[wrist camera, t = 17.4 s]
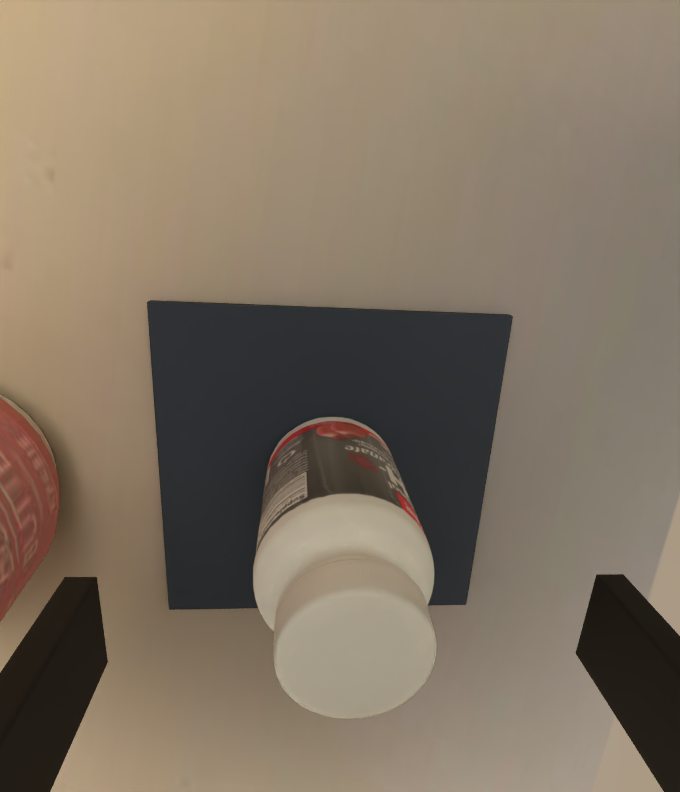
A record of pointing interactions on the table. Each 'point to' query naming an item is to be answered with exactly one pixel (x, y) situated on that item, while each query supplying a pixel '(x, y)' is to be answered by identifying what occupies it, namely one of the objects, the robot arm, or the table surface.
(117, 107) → the table surface
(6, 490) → the container
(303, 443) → the pill bottle
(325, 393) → the mat
